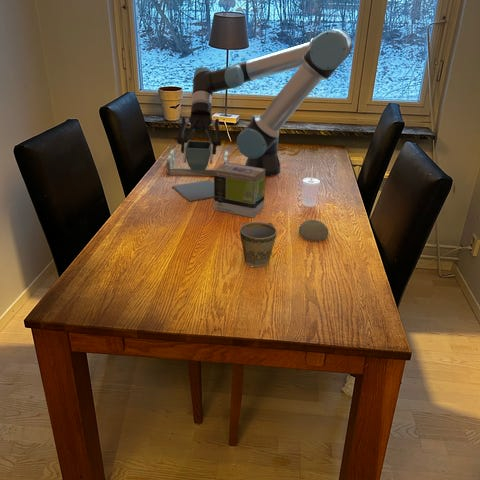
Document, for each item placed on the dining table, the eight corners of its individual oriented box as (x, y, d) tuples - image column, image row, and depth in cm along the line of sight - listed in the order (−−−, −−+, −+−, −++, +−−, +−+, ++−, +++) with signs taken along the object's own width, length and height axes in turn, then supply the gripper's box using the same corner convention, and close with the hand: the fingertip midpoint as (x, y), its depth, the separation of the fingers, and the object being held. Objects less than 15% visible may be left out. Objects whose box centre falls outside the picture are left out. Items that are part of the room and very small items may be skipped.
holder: (172, 161, 204) (171, 148, 201) (227, 163, 204) (228, 150, 202) (167, 174, 190) (166, 160, 187) (226, 176, 190) (226, 162, 187)
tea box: (264, 208, 163) (266, 168, 156) (253, 219, 155) (255, 177, 148) (226, 200, 168) (226, 160, 161) (213, 210, 160) (213, 169, 153)
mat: (228, 194, 173) (228, 193, 172) (189, 202, 165) (189, 200, 165) (209, 180, 185) (209, 179, 185) (172, 187, 178) (172, 185, 177)
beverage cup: (320, 204, 167) (325, 167, 161) (310, 208, 163) (314, 171, 157) (306, 199, 171) (310, 162, 165) (296, 203, 167) (300, 166, 161)
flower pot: (209, 173, 167) (209, 148, 163) (185, 172, 167) (184, 147, 163) (211, 165, 175) (211, 141, 171) (188, 164, 175) (187, 140, 171)
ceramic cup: (263, 275, 124) (265, 242, 119) (231, 264, 128) (232, 231, 124) (285, 255, 133) (288, 224, 129) (255, 245, 138) (257, 215, 133)
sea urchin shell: (311, 241, 138) (302, 216, 140) (299, 249, 145) (291, 225, 147) (336, 235, 142) (327, 211, 143) (323, 243, 149) (315, 220, 150)
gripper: (230, 113, 177) (227, 167, 170) (173, 111, 177) (169, 164, 170) (230, 102, 170) (227, 157, 163) (171, 99, 169) (166, 155, 163)
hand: (197, 161), depth 167 cm, fingers closed on flower pot, 9 cm apart
